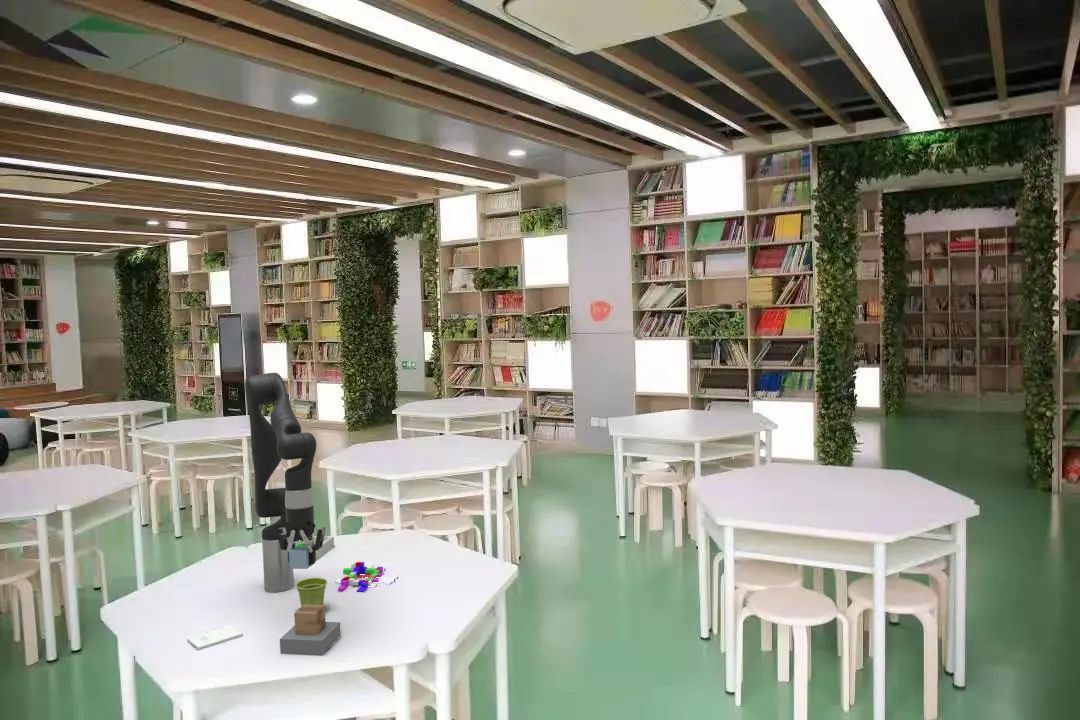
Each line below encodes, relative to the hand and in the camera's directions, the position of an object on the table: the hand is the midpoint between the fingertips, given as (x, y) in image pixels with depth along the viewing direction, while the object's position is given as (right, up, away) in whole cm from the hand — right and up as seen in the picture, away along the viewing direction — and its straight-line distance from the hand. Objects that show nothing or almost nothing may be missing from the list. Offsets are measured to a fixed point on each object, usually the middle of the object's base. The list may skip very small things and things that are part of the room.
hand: (302, 564), depth 216 cm
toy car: (-24, -16, +75) cm, 81 cm away
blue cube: (0, 0, 0) cm, 0 cm away
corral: (-23, -16, +76) cm, 81 cm away
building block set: (+8, -18, +46) cm, 50 cm away
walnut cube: (+4, -17, -5) cm, 18 cm away
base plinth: (+4, -21, -5) cm, 22 cm away
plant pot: (-3, -20, +19) cm, 28 cm away
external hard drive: (-25, -22, +1) cm, 33 cm away
